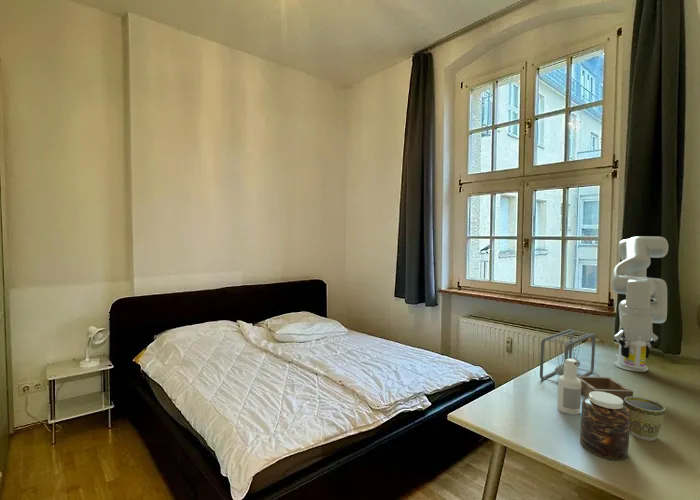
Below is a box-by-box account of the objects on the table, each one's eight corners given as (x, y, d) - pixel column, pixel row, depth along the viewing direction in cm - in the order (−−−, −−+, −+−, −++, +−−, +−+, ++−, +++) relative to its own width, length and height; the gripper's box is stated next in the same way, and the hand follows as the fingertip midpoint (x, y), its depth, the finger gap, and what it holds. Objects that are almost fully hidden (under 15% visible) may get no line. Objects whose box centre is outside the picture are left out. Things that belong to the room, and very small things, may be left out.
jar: (635, 451, 108) (638, 399, 107) (618, 465, 101) (621, 410, 100) (589, 433, 117) (592, 385, 117) (572, 445, 111) (574, 394, 110)
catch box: (574, 388, 151) (575, 376, 151) (609, 389, 150) (609, 377, 150) (594, 403, 138) (594, 390, 137) (632, 405, 137) (633, 391, 137)
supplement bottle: (642, 364, 149) (644, 332, 148) (647, 370, 143) (649, 336, 142) (621, 361, 152) (623, 330, 151) (625, 367, 146) (627, 334, 145)
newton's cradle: (565, 388, 151) (567, 344, 150) (539, 380, 159) (540, 338, 158) (594, 372, 170) (596, 333, 169) (569, 365, 178) (570, 328, 177)
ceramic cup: (651, 447, 110) (652, 413, 110) (615, 430, 119) (616, 399, 119) (676, 437, 115) (678, 405, 115) (640, 422, 124) (642, 392, 124)
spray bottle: (572, 417, 127) (574, 364, 126) (553, 408, 133) (555, 358, 133) (584, 412, 131) (586, 361, 130) (565, 404, 137) (567, 355, 136)
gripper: (653, 309, 149) (650, 353, 151) (607, 309, 150) (605, 352, 151) (668, 314, 142) (665, 360, 143) (620, 313, 143) (617, 359, 144)
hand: (634, 356), depth 147 cm, fingers closed on supplement bottle, 6 cm apart
